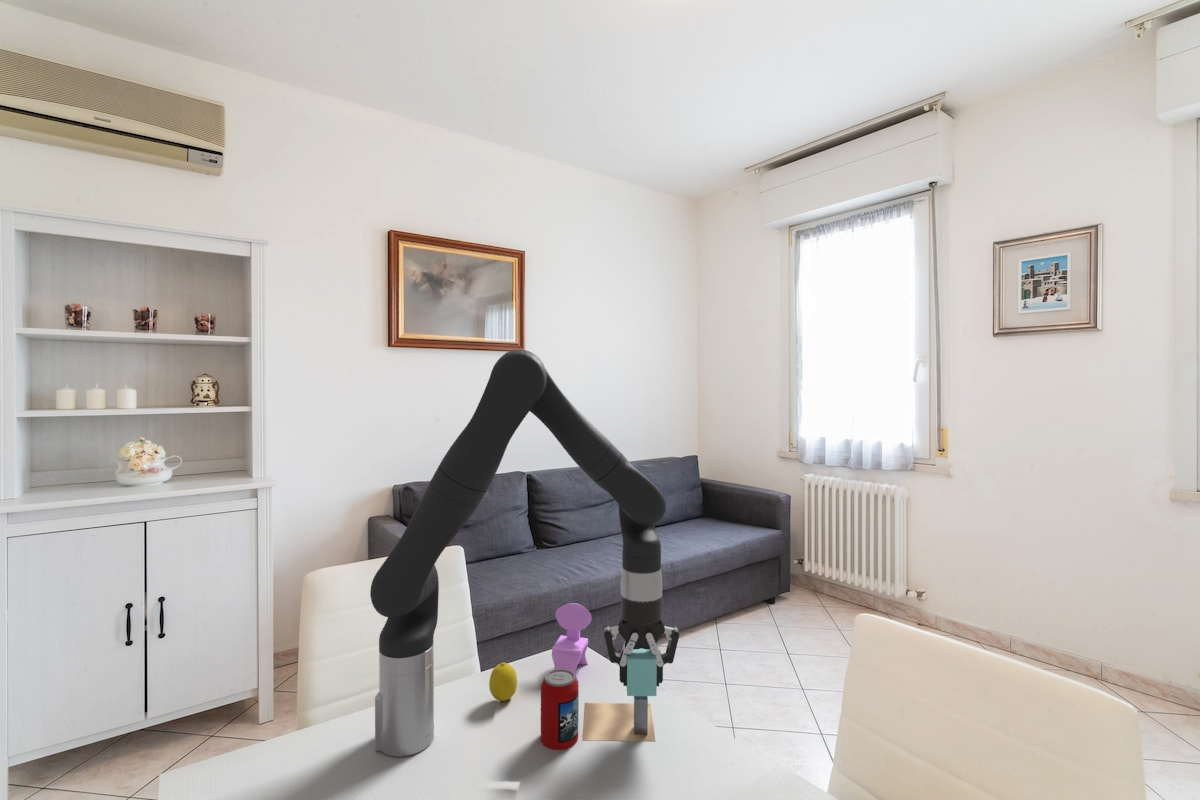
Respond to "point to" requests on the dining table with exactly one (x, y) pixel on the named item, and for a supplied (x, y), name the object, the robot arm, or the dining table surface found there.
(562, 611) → the toy chair
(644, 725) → the post
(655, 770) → the dining table surface
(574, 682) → the beverage can
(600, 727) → the board
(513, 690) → the lemon
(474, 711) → the dining table surface
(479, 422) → the robot arm
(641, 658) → the aqua foam cube
